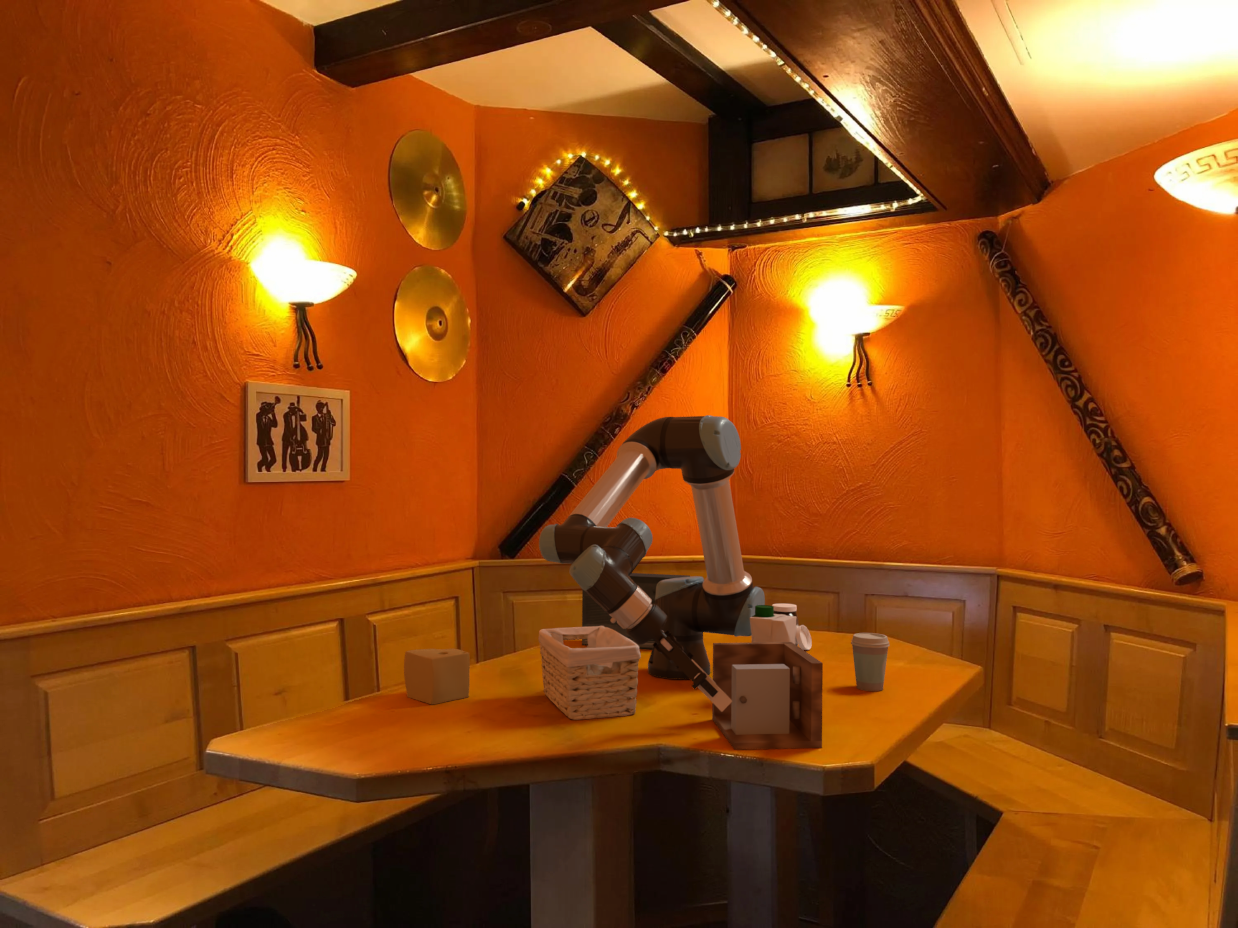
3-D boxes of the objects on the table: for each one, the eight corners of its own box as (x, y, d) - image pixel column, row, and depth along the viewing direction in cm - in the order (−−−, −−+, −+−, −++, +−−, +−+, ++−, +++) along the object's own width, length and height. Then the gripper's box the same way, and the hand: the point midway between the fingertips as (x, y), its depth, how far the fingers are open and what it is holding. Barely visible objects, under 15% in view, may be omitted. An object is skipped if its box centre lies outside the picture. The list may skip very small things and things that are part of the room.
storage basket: (643, 717, 191) (643, 643, 191) (564, 724, 186) (565, 648, 186) (606, 690, 214) (606, 624, 214) (535, 695, 208) (536, 628, 208)
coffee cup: (890, 693, 212) (891, 639, 212) (851, 691, 214) (851, 638, 214) (887, 684, 220) (888, 633, 220) (849, 682, 222) (850, 631, 222)
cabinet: (734, 749, 170) (735, 664, 170) (712, 719, 189) (713, 642, 189) (821, 747, 171) (822, 663, 171) (790, 717, 191) (791, 642, 191)
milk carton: (761, 692, 212) (762, 602, 212) (800, 698, 207) (801, 606, 207) (745, 700, 204) (746, 607, 204) (784, 706, 200) (785, 611, 199)
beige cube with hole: (443, 689, 213) (443, 644, 213) (472, 698, 205) (472, 651, 205) (403, 697, 206) (403, 650, 206) (430, 706, 198) (431, 658, 198)
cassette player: (689, 647, 264) (690, 575, 264) (683, 652, 257) (684, 578, 257) (590, 641, 272) (590, 571, 272) (581, 645, 265) (582, 573, 265)
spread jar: (769, 643, 271) (770, 602, 271) (810, 644, 269) (810, 603, 269) (770, 651, 259) (770, 608, 259) (812, 652, 257) (813, 609, 257)
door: (736, 735, 174) (737, 670, 174) (731, 728, 179) (731, 664, 179) (790, 734, 175) (790, 669, 175) (783, 727, 180) (783, 663, 180)
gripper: (617, 619, 187) (691, 694, 188) (633, 643, 162) (718, 730, 163) (644, 592, 187) (718, 667, 189) (664, 612, 162) (749, 698, 164)
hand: (718, 696), depth 176 cm, fingers open, 13 cm apart
